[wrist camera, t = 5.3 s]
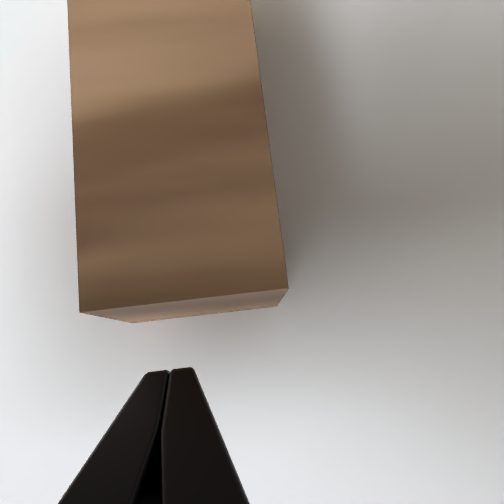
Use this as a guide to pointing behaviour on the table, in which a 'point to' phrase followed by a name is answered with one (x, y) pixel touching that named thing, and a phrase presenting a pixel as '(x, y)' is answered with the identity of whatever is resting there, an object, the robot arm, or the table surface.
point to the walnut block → (171, 161)
